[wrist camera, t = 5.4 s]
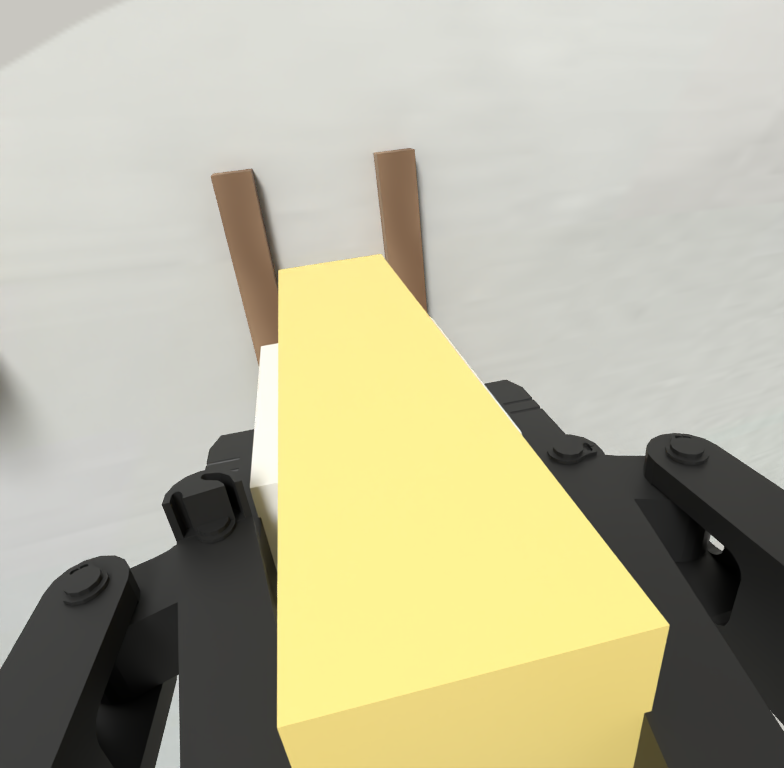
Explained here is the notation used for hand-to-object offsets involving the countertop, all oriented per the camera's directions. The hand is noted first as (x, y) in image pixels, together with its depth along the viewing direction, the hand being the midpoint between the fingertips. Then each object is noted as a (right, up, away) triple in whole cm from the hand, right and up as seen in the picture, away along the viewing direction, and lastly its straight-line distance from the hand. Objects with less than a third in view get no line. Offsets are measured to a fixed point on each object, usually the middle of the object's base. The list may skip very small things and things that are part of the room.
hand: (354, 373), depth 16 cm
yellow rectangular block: (-1, +2, +3) cm, 4 cm away
